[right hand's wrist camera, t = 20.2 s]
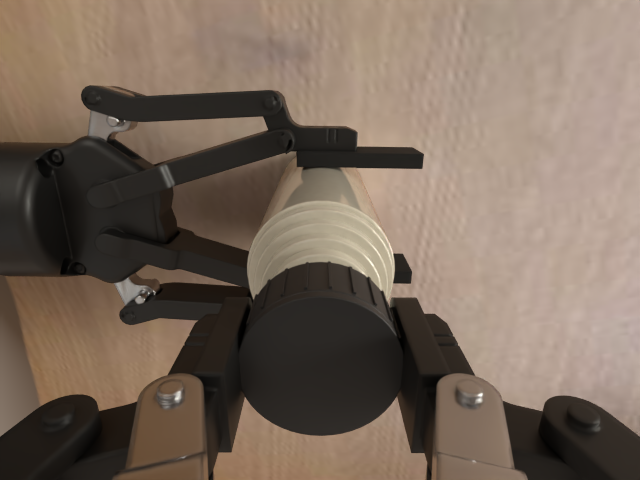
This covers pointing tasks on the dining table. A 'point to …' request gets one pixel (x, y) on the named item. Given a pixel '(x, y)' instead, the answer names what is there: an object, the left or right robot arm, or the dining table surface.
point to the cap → (321, 350)
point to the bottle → (320, 227)
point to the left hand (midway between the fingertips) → (410, 215)
